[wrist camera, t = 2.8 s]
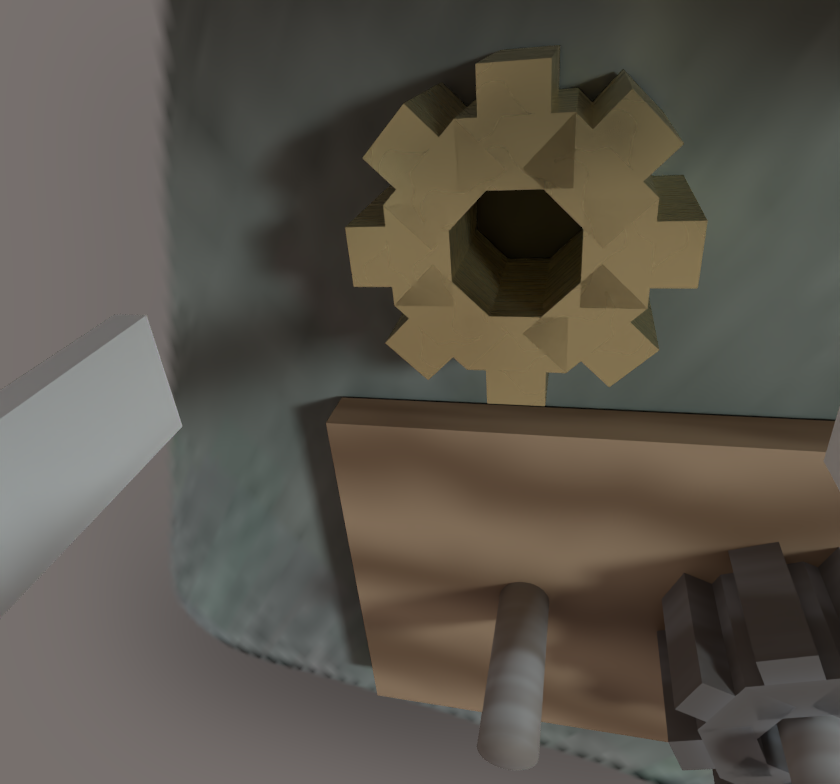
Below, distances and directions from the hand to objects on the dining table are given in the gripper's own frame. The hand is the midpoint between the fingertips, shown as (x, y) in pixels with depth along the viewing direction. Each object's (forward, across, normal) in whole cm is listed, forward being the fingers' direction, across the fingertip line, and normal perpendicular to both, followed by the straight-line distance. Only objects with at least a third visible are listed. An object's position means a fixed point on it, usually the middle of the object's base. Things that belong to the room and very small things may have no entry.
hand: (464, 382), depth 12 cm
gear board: (+12, +6, -17) cm, 21 cm away
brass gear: (+12, 0, 0) cm, 12 cm away
